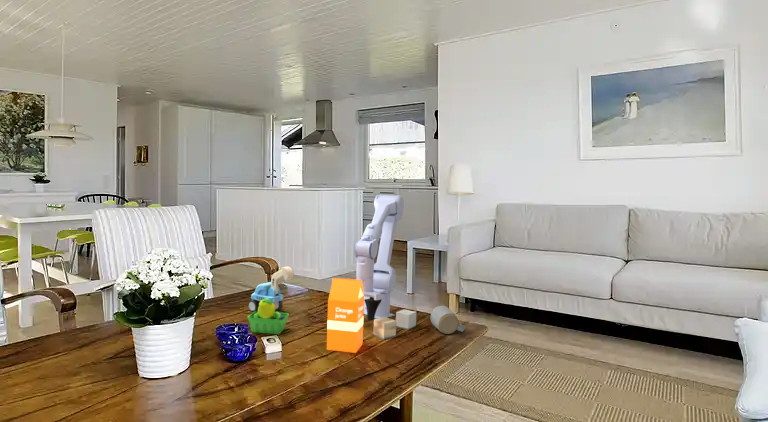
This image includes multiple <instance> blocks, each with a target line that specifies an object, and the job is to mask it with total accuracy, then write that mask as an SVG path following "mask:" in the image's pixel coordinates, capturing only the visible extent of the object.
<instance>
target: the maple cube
mask: <svg viewBox="0 0 768 422" xmlns="http://www.w3.org/2000/svg"><path fill="white" fill-rule="evenodd" d="M372 331H373V333H372V334H373V336H375V337H377V338H379V339H382V340H385V339H387V340H388V339H390V338H393V337H396V336H397V327H396V319H393V318H391V317H384V318H379V319H376V318H374V320H373V329H372Z"/></svg>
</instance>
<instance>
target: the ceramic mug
mask: <svg viewBox="0 0 768 422" xmlns="http://www.w3.org/2000/svg"><path fill="white" fill-rule="evenodd" d="M429 319H430V322H431V324H432V326H433V327H435V329H436V330H438V331H439V332H440V333H442V334H445V335H451V334H453V333H455V331H458V332H461V333H463V332H464V331H465V329H466V327H465V326H464V325H463V324H461V323H460V322H459V318H458V317H457V315H456V313H454V312H453V311H452V310H451V309H450V308H449V307H448V306H447V305H446V306H445V305H438V306H435V307H434V308H433V310H432V311H431V312H430V317H429Z"/></svg>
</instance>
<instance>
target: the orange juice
mask: <svg viewBox="0 0 768 422" xmlns="http://www.w3.org/2000/svg"><path fill="white" fill-rule="evenodd" d="M329 291H330V292H329V294H328V295H329V296H328V299H327V321H326V323H327V325H326V329H327V330H326V350H327V351H338V352H345V353H346V352H347V353H354V354H356V353H357V352H358V351H359V350H360V348H361V347H362V345H363V340H364V338H363V337H364V319H365V318H364V317H365V316H364V315H365V314H364V292H363V286H362V280H356V278H355V279H353V278H340V277H332V281H331V285H330V290H329Z"/></svg>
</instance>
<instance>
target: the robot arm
mask: <svg viewBox="0 0 768 422" xmlns="http://www.w3.org/2000/svg"><path fill="white" fill-rule="evenodd" d="M373 205H374V210H375V211H374V213H373V217H372V221H371V223H368V224H367V225H366V227H365V229H364V231H363V234H362V235H361V238H360V239H359V240H358V241H356V242H355V245H354V248H353V253H354V254H353V255H354V257H355V258H354V260H355V263H356V273H355V274H356V275H355V276H356V278H355V280H362V286H363V292H364V315H366V318H367V321H374V319H379V318H384V317H387V318H391V317H396V314H394V313H392V312H390V309H391V307H390V305H391V292H392V291H393V290H394V289H395V287H396V283H397V282H396V281H397V280H396V279H397V278H396V277H397V273H396V270H395V268H393V266H391V259H392V253H393V252H392V251H393V247H394V241H395V236H396V235H395V234H396V230H397V229H396V228H397V224H398V222H399V221H401V220H402V217H403V213H404V207H405V206H404V205H405V203H404V197H403V196H402V194H400V195H399V194H398V195H394V194H393V195H390V194H377V195H375V197H374V201H373ZM376 257H377V259H376ZM375 259H376V262H375Z"/></svg>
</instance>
